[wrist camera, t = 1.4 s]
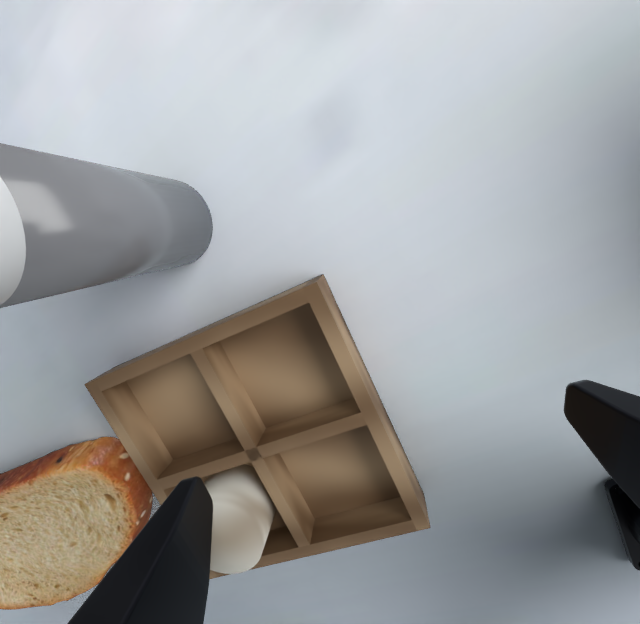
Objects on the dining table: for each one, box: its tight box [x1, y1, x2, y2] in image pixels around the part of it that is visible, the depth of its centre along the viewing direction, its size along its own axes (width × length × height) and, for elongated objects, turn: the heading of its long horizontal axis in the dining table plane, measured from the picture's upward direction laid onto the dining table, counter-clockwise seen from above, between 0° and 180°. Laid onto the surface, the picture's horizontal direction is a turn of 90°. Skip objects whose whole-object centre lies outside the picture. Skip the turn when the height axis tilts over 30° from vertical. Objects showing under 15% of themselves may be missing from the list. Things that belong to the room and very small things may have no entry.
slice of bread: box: [0, 437, 153, 609], centre depth 26 cm, size 18×18×4 cm
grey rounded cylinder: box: [0, 143, 213, 308], centre depth 13 cm, size 5×5×13 cm
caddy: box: [84, 275, 430, 579], centre depth 20 cm, size 16×16×4 cm
